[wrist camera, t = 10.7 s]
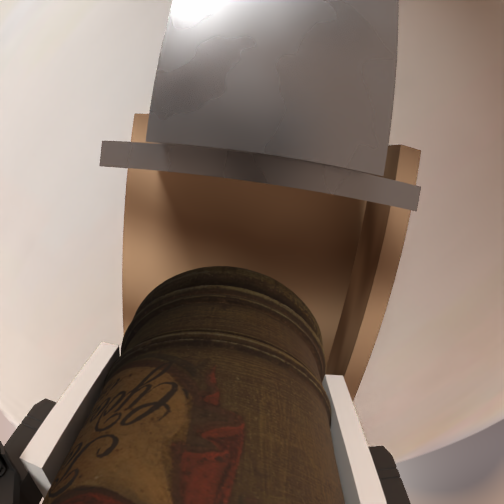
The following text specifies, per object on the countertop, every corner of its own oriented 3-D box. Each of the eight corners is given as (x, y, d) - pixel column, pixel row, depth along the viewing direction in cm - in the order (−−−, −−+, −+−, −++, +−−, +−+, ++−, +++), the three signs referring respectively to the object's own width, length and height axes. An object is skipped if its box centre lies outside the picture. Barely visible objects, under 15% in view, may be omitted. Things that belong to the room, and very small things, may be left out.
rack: (144, 117, 16) (-64, 61, 3) (382, 151, 16) (600, 162, 3) (140, 434, 22) (91, 573, 9) (300, 455, 22) (317, 601, 9)
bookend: (176, 32, 13) (123, -45, 6) (377, 62, 13) (455, 8, 6) (155, 162, 15) (75, 168, 8) (360, 192, 15) (440, 220, 8)
